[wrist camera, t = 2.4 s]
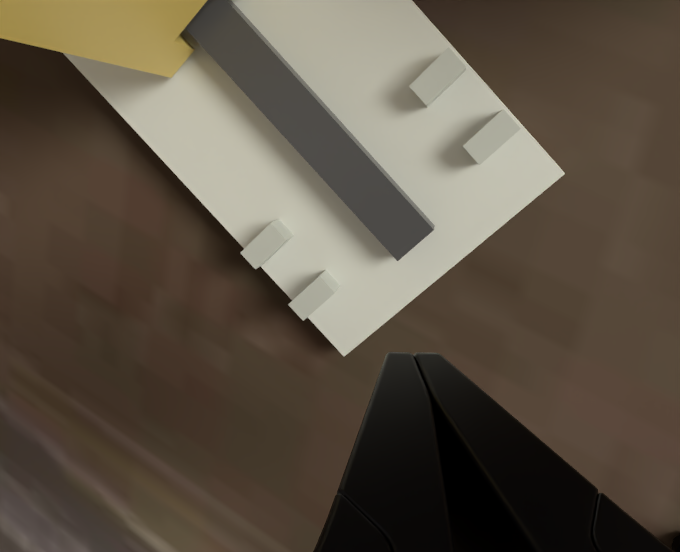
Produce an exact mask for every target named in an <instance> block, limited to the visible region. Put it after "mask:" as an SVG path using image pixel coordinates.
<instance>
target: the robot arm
mask: <svg viewBox="0 0 680 552" xmlns="http://www.w3.org/2000/svg"><path fill="white" fill-rule="evenodd" d="M313 552H680V535H679V536H677V537H676V538H675V539H674V540H673V543H672V550H671V549H670V548H669V547H667V546H666V545H665V544H663V543H662V542H661V541H660V540H659V539H657V538H656V537H655V536H654V535H652V534H651V533H650V532H649V531H648V530H646V529H645V528H644V527H643V526H641V525H640V524H639V523H638V522H637V521H635V520H634V519H633V518H632V517H631V516H629V515H628V514H627V513H626V512H624V511H623V510H622V509H621V508H620V507H619V506H617V505H616V504H615V503H614V502H613V501H612V500H610V499H609V498H608V497H607V496H606V495H605V494H603V493H599V494H598V489H597V488H596V487H595V486H594V485H593V484H591V483H590V482H589V481H588V480H587V479H586V478H584V477H583V476H582V475H581V474H580V473H579V472H577V471H576V470H575V469H574V468H573V467H572V466H570V465H569V464H568V463H567V462H566V461H565V460H563V459H562V458H561V457H560V456H559V455H558V454H556V453H555V452H554V451H553V450H552V449H551V448H549V447H548V446H547V445H546V444H545V443H543V442H542V441H541V440H540V439H539V438H538V437H536V436H535V435H534V434H533V433H532V432H531V431H529V430H528V429H527V428H526V427H525V426H524V425H522V424H521V423H520V422H519V421H518V420H517V419H515V418H514V417H513V416H512V415H511V414H510V413H508V412H507V411H506V410H505V409H504V408H503V407H501V406H500V405H499V404H498V403H497V402H496V401H494V400H493V399H492V398H491V397H490V396H489V395H487V394H486V393H485V392H484V391H483V390H482V389H480V388H479V387H478V386H477V385H476V384H475V383H473V382H472V381H471V380H470V379H469V378H467V377H466V376H465V375H464V374H463V373H462V372H460V371H459V370H458V369H457V368H456V367H455V366H453V365H452V364H451V363H450V362H449V361H448V360H446V359H445V358H444V357H443V356H442V355H440V354H438V353H415V354H414V355H412V354H411V353H401V352H390V353H388V354H387V355H386V357H385V360H384V363H383V365H382V368H381V371H380V374H379V377H378V379H377V382H376V385H375V388H374V391H373V393H372V396H371V399H370V402H369V405H368V407H367V410H366V413H365V416H364V419H363V421H362V424H361V427H360V430H359V432H358V435H357V438H356V441H355V444H354V446H353V449H352V452H351V455H350V458H349V460H348V463H347V466H346V469H345V472H344V474H343V477H342V480H341V483H340V486H339V488H338V491H337V495H336V496H335V498H334V501H333V504H332V507H331V510H330V512H329V515H328V518H327V520H326V523H325V525H324V528H323V530H322V532H321V535H320V537H319V540H318V542H317V545H316V547H315V549H314V551H313Z"/></svg>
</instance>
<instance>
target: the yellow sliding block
mask: <svg viewBox="0 0 680 552" xmlns="http://www.w3.org/2000/svg"><path fill="white" fill-rule="evenodd" d="M206 1H207V0H0V38H2V39H6V40H11V41H15V42H19V43H24V44H28V45H32V46H36V47H41V48H45V49H49V50H54V51H58V52H62V53H67V54H71V55H75V56H79V57H84V58H88V59H92V60H97V61H101V62H105V63H109V64H114V65H118V66H122V67H127V68H131V69H135V70H140V71H144V72H148V73H152V74H157V75H161V76H165V77H170V78H172V77H173V75H174V74H175V73H176V72H177V71H178V69H179V68H180V67H181V66H182V65H183V63H184V62H185V61H186V60H187V59H188V57H189V56H190V55H191V54H192V52H193V51H194V50H195V49H194V48H193V47H192V46H191V45H190V44H189V43H188V42H187V41H186V39H185V38H184V37H183V36H182V35H181V34H180V33H181V32H182V31H183V30H184V29H185V27H186V26H187V25H188V24H189V22H190V21H191V20H192V19H193V17H194V16H195V15H196V14H197V13H198V11H199V10H200V9H201V8H202V6H203V5H204V4H205V3H206Z"/></svg>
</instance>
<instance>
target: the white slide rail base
mask: <svg viewBox="0 0 680 552" xmlns="http://www.w3.org/2000/svg"><path fill="white" fill-rule="evenodd" d="M180 34H181V35H182V36H183V37H184V38H185V39H186V41H187V42H188V43H189V44H190V45H191V46H192V47H193V48H194V49H195V50H194V51H193V52H192V54H191V55H190V56H189V57H188V59H187V60H186V61H185V62H184V63H183V65H182V66H181V67H180V68H179V69H178V71H177V72H176V73H175V74H174V75H173V77H172V78H170V77H165V76H161V75H157V74H152V73H148V72H144V71H140V70H135V69H131V68H127V67H122V66H118V65H114V64H109V63H105V62H101V61H97V60H92V59H88V58H84V57H79V56H75V55H71V54H67V53H63V54H64V55H65V56H66V57H67V58H68V59H69V60H70V61H71V62H72V63H73V64H74V66H75V67H76V68H77V69H78V70H79V71H80V72H81V73H82V74H83V75H84V76H85V77H86V78H87V80H88V81H89V82H90V83H91V84H92V85H93V86H94V87H95V88H96V89H97V90H98V91H99V93H100V94H101V95H102V96H103V97H104V98H105V99H106V100H107V101H108V102H109V103H110V104H111V105H112V107H113V108H114V109H115V110H116V111H117V112H118V113H119V114H120V115H121V116H122V117H123V118H124V120H125V121H126V122H127V123H128V124H129V125H130V126H131V127H132V128H133V129H134V130H135V131H136V132H137V134H138V135H139V136H140V137H141V138H142V139H143V140H144V141H145V142H146V143H147V144H148V145H149V147H150V148H151V149H152V150H153V151H154V152H155V153H156V154H157V155H158V156H159V157H160V158H161V160H162V161H163V162H164V163H165V164H166V165H167V166H168V167H169V168H170V169H171V170H172V171H173V172H174V174H175V175H176V176H177V177H178V178H179V179H180V180H181V181H182V182H183V183H184V184H185V185H186V187H187V188H188V189H189V190H190V191H191V192H192V193H193V194H194V195H195V196H196V197H197V198H198V199H199V201H200V202H201V203H202V204H203V205H204V206H205V207H206V208H207V209H208V210H209V211H210V212H211V214H212V215H213V216H214V217H215V218H216V219H217V220H218V221H219V222H220V223H221V224H222V225H223V226H224V228H225V229H226V230H227V231H228V232H229V233H230V234H231V235H232V236H233V237H234V238H235V239H236V241H237V242H238V243H239V244H240V245H241V246H242V247H243V248H244V250H243V251H242V252H241V254H242V256H243V257H244V258H245V259H246V260H247V261H248V262H249V263H250V264H251V265H252V266H253V267H254V268H255V270H256V269H257V268H259V267H260V266H261V268H262V269H263V270H264V271H265V272H266V273H267V274H268V275H269V276H270V277H271V278H272V279H273V280H274V282H275V283H276V284H277V285H278V286H279V287H280V288H281V289H282V290H283V291H284V292H285V293H286V295H287V296H288V297H289V298H290V299H291V300H292V301H291V302H290V303H289V304H288V305H289V306H290V307H291V308H292V309H293V311H294V312H295V313H296V314H297V315H298V316H299V317H300V318H301V319H302V320H303V321H304V320H305V319H306V318H307V317H308V318H309V319H310V320H311V322H312V323H313V324H314V325H315V326H316V327H317V328H318V329H319V330H320V331H321V332H322V333H323V334H324V336H325V337H326V338H327V339H328V340H329V341H330V342H331V343H332V344H333V345H334V346H335V347H336V349H337V350H338V351H339V352H340V353H341V354H342V355H343V356H346V355H347V354H348V353H349V352H350V351H352V350H353V349H354V348H355V347H356V346H358V345H359V344H360V343H361V342H362V341H364V340H365V339H366V338H367V337H368V336H370V335H371V334H372V333H373V332H375V331H376V330H377V329H378V328H379V327H381V326H382V325H383V324H384V323H385V322H387V321H388V320H389V319H390V318H391V317H393V316H394V315H395V314H396V313H397V312H399V311H400V310H401V309H402V308H403V307H405V306H406V305H407V304H408V303H410V302H411V301H412V300H413V299H414V298H416V297H417V296H418V295H419V294H420V293H422V292H423V291H424V290H425V289H426V288H428V287H429V286H430V285H431V284H432V283H434V282H435V281H436V280H437V279H439V278H440V277H441V276H442V275H443V274H445V273H446V272H447V271H448V270H449V269H451V268H452V267H453V266H454V265H455V264H457V263H458V262H459V261H460V260H461V259H463V258H464V257H465V256H466V255H467V254H469V253H470V252H471V251H472V250H474V249H475V248H476V247H477V246H478V245H480V244H481V243H482V242H483V241H484V240H486V239H487V238H488V237H489V236H490V235H492V234H493V233H494V232H495V231H496V230H498V229H499V228H500V227H501V226H502V225H504V224H505V223H506V222H507V221H509V220H510V219H511V218H512V217H513V216H515V215H516V214H517V213H518V212H519V211H521V210H522V209H523V208H524V207H525V206H527V205H528V204H529V203H530V202H531V201H533V200H534V199H535V198H536V197H538V196H539V195H540V194H541V193H542V192H544V191H545V190H546V189H547V188H548V187H550V186H551V185H552V184H553V183H554V182H556V181H557V180H558V179H559V178H560V177H562V176H563V175H564V174H565V173H564V172H563V171H562V170H561V168H560V167H559V166H558V165H557V164H556V163H555V162H554V160H553V159H552V158H551V157H550V156H549V155H548V154H547V153H546V151H545V150H544V149H543V148H542V147H541V146H540V145H539V143H538V142H537V141H536V140H535V139H534V138H533V137H532V136H531V134H530V133H529V132H528V131H527V130H526V129H525V128H524V127H523V125H522V124H521V123H520V122H519V121H518V120H517V119H516V117H515V116H514V115H513V114H512V113H511V112H510V111H509V110H508V108H507V107H506V106H505V105H504V104H503V103H502V102H501V100H500V99H499V98H498V97H497V96H496V95H495V94H494V93H493V91H492V90H491V89H490V88H489V87H488V86H487V85H486V84H485V82H484V81H483V80H482V79H481V78H480V77H479V76H478V74H477V73H476V72H475V71H474V70H473V69H472V68H471V67H470V65H469V64H468V63H467V62H466V61H465V60H464V59H463V57H462V56H461V55H460V54H459V53H458V52H457V51H456V50H455V48H454V47H453V46H452V45H451V44H450V43H449V42H448V41H447V39H446V38H445V37H444V36H443V35H442V34H441V33H440V31H439V30H438V29H437V28H436V27H435V26H434V25H433V24H432V22H431V21H430V20H429V19H428V18H427V17H426V16H425V14H424V13H423V12H422V11H421V10H420V9H419V8H418V7H417V5H416V4H415V3H414V2H413V1H412V0H207V1H206V3H205V4H204V5H203V6H202V8H201V9H200V10H199V11H198V13H197V14H196V15H195V16H194V17H193V19H192V20H191V21H190V22H189V24H188V25H187V26H186V27H185V29H184V30H183V31H182V32H181V33H180Z"/></svg>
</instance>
